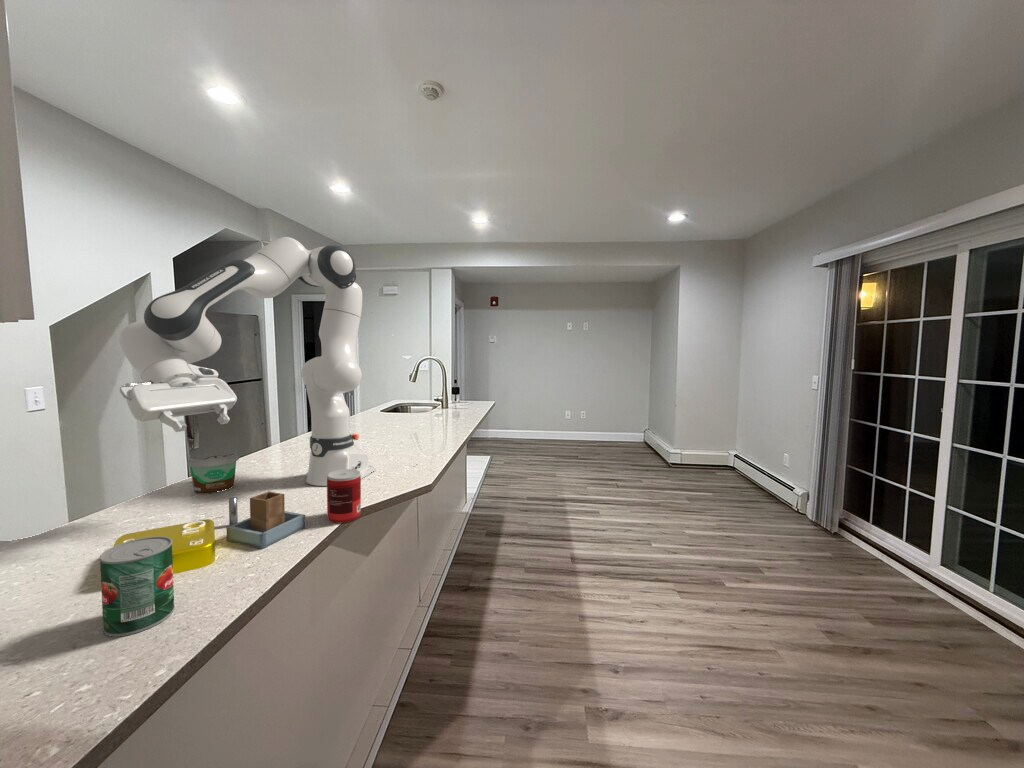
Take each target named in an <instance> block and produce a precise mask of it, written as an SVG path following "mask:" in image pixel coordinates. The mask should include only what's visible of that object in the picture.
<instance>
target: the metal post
mask: <svg viewBox="0 0 1024 768" xmlns="http://www.w3.org/2000/svg"><path fill="white" fill-rule="evenodd" d="M228 518H229V519H228V525H229V526H231V525H233V524H236V523H238V522H239V519H238V518H239V517H238V497H237V496H231V497H229V498H228Z"/></svg>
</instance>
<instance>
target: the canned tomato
mask: <svg viewBox="0 0 1024 768" xmlns="http://www.w3.org/2000/svg"><path fill="white" fill-rule="evenodd" d="M113 546H114V545H113ZM172 559H173V556H172V539H171V538H169V537H162V536H157V537H147V538H141V539H136V540H132V541H128V542H125V543H122V544H119V545H117V546H114V547H110V548H109V549H107V550H105V551H103V552H102V553H101V554H100V556H99V563H100V564H99V566H100V567H99V568H100V569H99V570H100V587H101V590H100V591H101V609H102V611H101V612H102V613H101V614H102V632H103V631H104V632H103V634H104V633H105V635H106V634H107V635H106V636H108V635H111V636H110V637H114V636H117V637H124V636H125V635H126V636H130V635H134V634H137V633H141V632H143V631H147V630H149V629H151V628H153V627H154V626H157V625H158V624H161V623H162V622H164V621H165V620H167V619H168V618H169V617H171V616H172V614H173V613H174V612H175V611H174V610H175V594H174V593H175V590H174V588H175V585H174V574H173V560H172Z"/></svg>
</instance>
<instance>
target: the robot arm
mask: <svg viewBox="0 0 1024 768" xmlns="http://www.w3.org/2000/svg"><path fill="white" fill-rule="evenodd" d="M356 271H357V270H356V263H355V258H354V257H353V255H352V253H351V252H350V251H349V250H348V249H347V248H346V247H343V246H341V245H335V244H333V245H332V244H330V245H326V246H319V247H316V248H313V249H309V250H308V249H307V248H305V245H303V244H302V243H301V242H300V241H299V240H296V239H295V238H293V237H290V236H282V237H278V239H275V240H273V241H271V242H270V243H268V244H266V245H264V246H263V247H261V248H259V250H257V251H256V252H255V253H253V254H251V256H249V257H247V258H245V259H233V260H230V261H228V262H225V263H223V264H221V265H219V266H218V267H215V268H214V269H212V270H210V271H208V272H207V273H205V274H203V275H202V276H200V277H198V278H197V279H195V280H193V281H191V282H189V283H187V284H186V285H184V286H182V287H180V288H179V289H176V290H174V291H171V292H168V293H165V294H163V295H160V296H158V297H156V298H154V299H153V300H151V301H150V302H149V303H148V305H147V307H146V308H145V310H144V313H143V320H140V321H134V322H132V323H129V324H127V325H126V326H125V327H124V328H123V329H122V330H121V332H120V334H119V338H118V341H119V346H120V348H121V350H122V352H123V354H124V356H125V357H126V359H127V361H128V362H129V364H130V365H131V366H132V368H133V369H135V370H136V371H137V372H139V376H140V378H141V380H142V381H141V382H128V383H127V382H126V383H125V384H124V385H121V387H120V388H119V393H120V394H121V396H122V398H124V399H125V400H126V403H127V406H128V408H129V410H130V413H131V415H132V416H133V417H134V418H135V420H137V421H139V422H140V421H141V422H149V421H157V420H159V421H160V422H161V423H162V424H164V425H167V426H168V427H171V428H172V429H173V430H174V432H175V433H179V432H185V431H186V429H187V428H188V425H187V423H186V422H185V421H184V420H179V419H177V418H178V417H185V416H186V417H187V416H191V415H199V414H207V413H212V412H215V413H216V414H217V415H219V416H218V418H217V419H216V421H217V422H218V423H219V425H225V424H226V425H228V423H229V422H230V420H231V419H230V417H229V415H228V410H232V408H233V407H234V406H235V404H236V403H237V400H238V397H237V395H236V393H235V392H234V390H233V389H232V388H231V387H230V385H228V383H227V382H226V381H225V380H223V379H221V378H219V372H218V371H217V370H216V369H212V368H207V367H203V366H198V365H194V364H196V363H199V362H201V361H203V360H206V359H208V358H210V357H211V358H212V356H214V355H216V353H217V352H218V351H219V350H220V348H221V346H222V344H223V340H222V339H223V338H222V336H221V333H220V332H219V331H218V329H217V328H216V327H215V326H214V325H213V324H212V322H210V320H209V319H208V318H207V316H206V311H208V309H209V308H210V307H211V306H212V305H214V304H216V303H217V302H218V301H220V300H223V298H225V297H227V296H228V295H230V294H231V293H234V292H236V291H241V290H242V291H244V292H246V293H248V294H250V295H252V296H253V297H257V298H260V299H261V298H262V299H272V298H275V297H277V296H279V295H280V294H282V293H283V292H285V290H286V289H287V288H288V287H290V286H291V285H292V284H293V283H294V282H295V281H296V280H297V279H298V280H299V281H301V282H302V283H303V284H305V285H308V286H311V287H314V288H315V287H317V288H318V287H319V288H320V287H323V290H324V294H325V301H324V304H323V305H324V306H323V309H322V310H323V311H322V316H321V320H320V323H319V325H320V326H319V330H318V336H319V339H320V343H321V345H320V346H321V355H320V356H316V357H313V358H311V359H308V361H306V362H305V363H304V364H303V366H302V368H301V372H300V373H301V378H302V381H303V382H304V384H305V389H306V393H307V398H308V402H309V407H310V408H309V409H310V418H311V419H310V420H311V421H310V422H311V424H310V425H311V428H310V429H311V435H310V437H309V448H310V452H309V460H308V469H307V472H306V479H305V482H306V483H307V484H308V485H311V486H316V487H317V486H318V487H327V475H328V474H329V473H330V472H333V471H336V470H342V469H354V470H358V471H360V474H361V480H363V479H365V478H366V477H367V476H369V475H371V474H372V473H373V471H374V472H375V471H376V470H377V469H376V466H374V465H371V464H369V457H368V454H367V453H366V452H365V451H364V450H362V449H360V448H359V447H358V446H357V445H355V443H354V440H355V441H358V440H359V438H360V435H359V433H351V426H350V425H351V423H350V422H351V420H350V419H351V414H350V408H349V407H348V405H347V403H346V399H345V397H344V396H345V395H344V394H345V393H349V392H352V391H354V390H356V389H357V388H358V387H359V386H360V384H361V382H362V379H363V378H362V377H363V376H362V375H363V374H362V369H361V367H360V366H359V363H358V355H357V354H358V351H357V348H358V347H357V343H358V335H359V330H360V324H361V318H362V311H363V289H362V287H361V286H360V285H359V284H358V283H357V282H356V279H357V273H356ZM371 472H372V473H371ZM365 476H366V477H365Z"/></svg>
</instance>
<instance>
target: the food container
mask: <svg viewBox="0 0 1024 768" xmlns="http://www.w3.org/2000/svg"><path fill="white" fill-rule="evenodd" d="M238 460H240V457H239V453H238V452H237V450H235V453H232V454H226V455H214V456H212V455H211V456H209V457H206V458H201V459H197V458H196V459H195V458H191V457H189V458H188V460H187V463H186V467H189V469H190V474H191V475H190V476H191V479H192V486H193V491H194V493H195V492H197V493H196V494H199V493H209V494H213V493H212V492H217V491H222V490H225V489H228V490H230V489H229V488H231V487H232V486H233V487H234V486H235V477H236V469H237V468H236V467H237V461H238ZM233 487H232V488H233ZM232 488H231V489H232ZM222 492H223V491H222ZM217 493H218V492H217Z"/></svg>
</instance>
